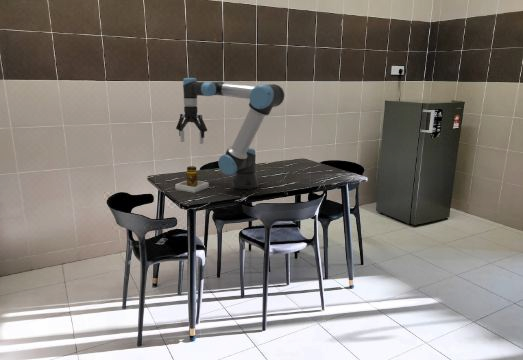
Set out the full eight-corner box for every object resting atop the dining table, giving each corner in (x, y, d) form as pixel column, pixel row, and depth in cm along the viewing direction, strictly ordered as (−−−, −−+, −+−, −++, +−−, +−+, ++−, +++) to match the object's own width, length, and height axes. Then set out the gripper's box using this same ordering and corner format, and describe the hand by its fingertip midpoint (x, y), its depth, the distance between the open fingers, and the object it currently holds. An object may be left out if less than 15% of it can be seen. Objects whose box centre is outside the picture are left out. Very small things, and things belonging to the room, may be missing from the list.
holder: (208, 187, 231) (208, 182, 230) (194, 192, 220) (194, 187, 219) (189, 184, 238) (189, 179, 237) (175, 189, 227) (175, 184, 226)
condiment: (192, 189, 224) (191, 168, 221) (181, 187, 229) (180, 166, 226) (201, 186, 230) (200, 166, 227) (190, 184, 235) (189, 164, 232)
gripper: (212, 106, 223) (213, 143, 229) (177, 104, 234) (178, 140, 239) (205, 107, 217) (206, 145, 222) (169, 105, 227) (170, 141, 233)
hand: (191, 142), depth 231 cm, fingers open, 13 cm apart
